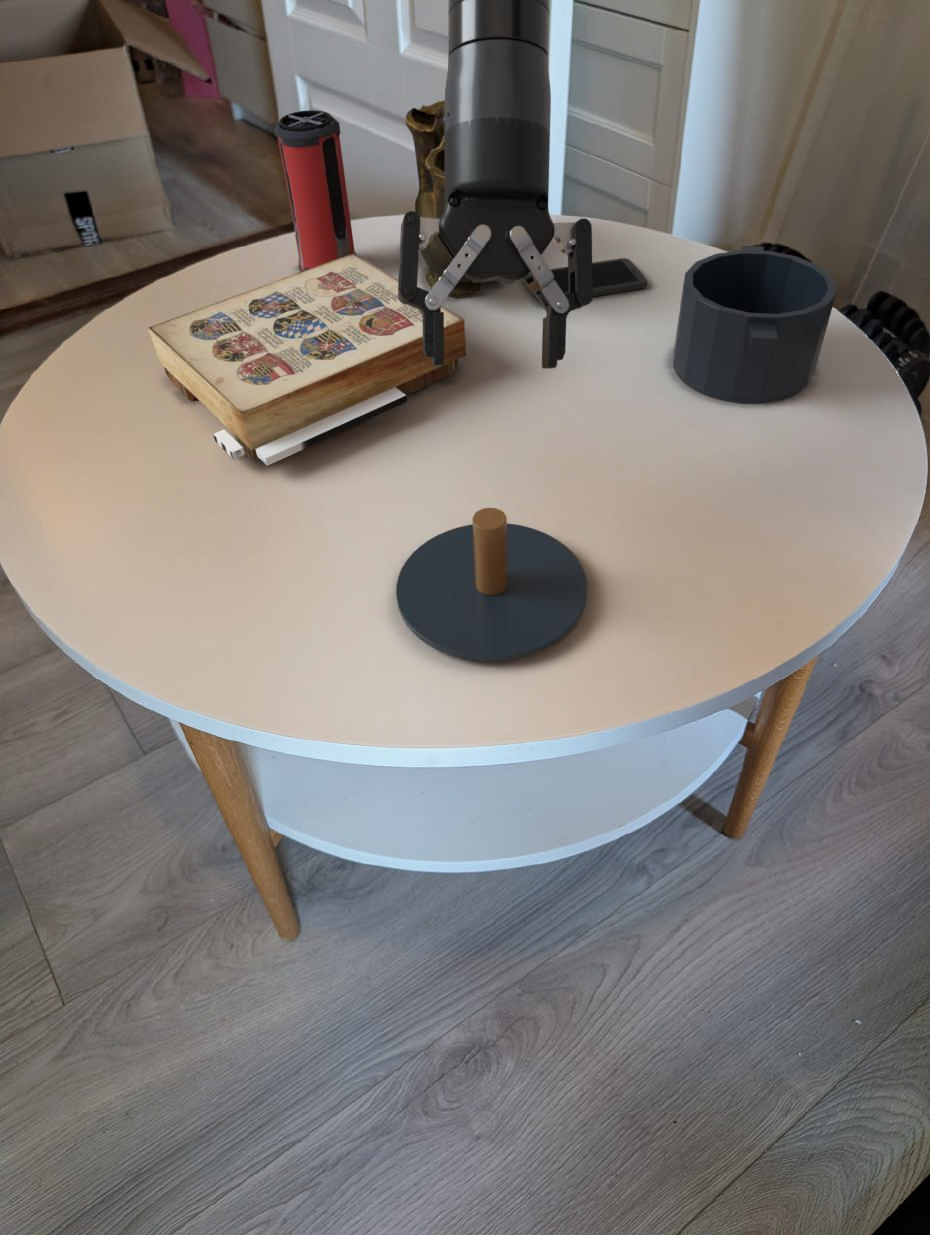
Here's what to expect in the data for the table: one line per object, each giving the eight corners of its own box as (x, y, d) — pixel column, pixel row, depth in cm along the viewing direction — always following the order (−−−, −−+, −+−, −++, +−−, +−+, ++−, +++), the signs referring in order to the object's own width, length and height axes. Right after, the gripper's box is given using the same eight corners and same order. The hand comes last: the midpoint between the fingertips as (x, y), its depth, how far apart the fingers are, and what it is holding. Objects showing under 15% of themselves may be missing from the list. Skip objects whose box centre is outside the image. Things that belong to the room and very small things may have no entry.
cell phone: (524, 278, 111) (524, 272, 110) (627, 262, 113) (628, 256, 112) (541, 304, 106) (541, 298, 105) (649, 287, 108) (650, 281, 107)
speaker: (328, 286, 112) (304, 133, 99) (287, 271, 115) (258, 122, 102) (369, 264, 116) (351, 114, 103) (328, 250, 119) (306, 103, 106)
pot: (802, 324, 100) (823, 241, 94) (822, 422, 87) (848, 334, 80) (673, 318, 103) (684, 237, 96) (672, 414, 89) (686, 327, 82)
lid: (592, 539, 76) (599, 463, 70) (579, 676, 66) (586, 599, 60) (417, 526, 79) (410, 451, 73) (378, 656, 68) (365, 580, 62)
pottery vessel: (404, 241, 120) (390, 78, 106) (481, 232, 122) (477, 68, 107) (437, 328, 103) (425, 147, 89) (526, 316, 104) (529, 135, 90)
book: (253, 490, 83) (483, 384, 94) (237, 434, 79) (481, 329, 90) (150, 386, 97) (360, 304, 108) (131, 333, 93) (353, 253, 104)
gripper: (400, 107, 58) (403, 362, 61) (609, 118, 60) (600, 365, 63) (393, 142, 65) (396, 368, 68) (580, 151, 67) (573, 371, 70)
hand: (494, 367), depth 66 cm, fingers open, 8 cm apart
